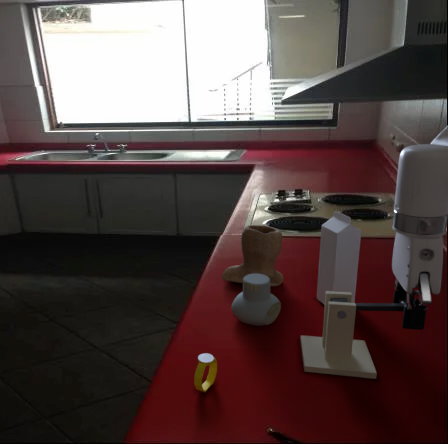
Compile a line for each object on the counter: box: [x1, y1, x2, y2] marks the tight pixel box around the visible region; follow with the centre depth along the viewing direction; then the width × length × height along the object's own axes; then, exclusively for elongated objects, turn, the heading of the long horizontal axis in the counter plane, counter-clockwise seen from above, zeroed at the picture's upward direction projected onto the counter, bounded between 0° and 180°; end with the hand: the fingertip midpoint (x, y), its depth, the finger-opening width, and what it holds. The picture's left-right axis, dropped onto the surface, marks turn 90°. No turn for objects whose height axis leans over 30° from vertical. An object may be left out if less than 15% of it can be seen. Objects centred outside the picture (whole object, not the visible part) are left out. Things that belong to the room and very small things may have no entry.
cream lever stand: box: [299, 291, 378, 380], centre depth 77 cm, size 12×10×13 cm
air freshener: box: [231, 274, 282, 327], centre depth 92 cm, size 11×8×10 cm
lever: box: [331, 297, 407, 312], centre depth 74 cm, size 13×5×2 cm, turn 77°
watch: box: [193, 352, 218, 393], centre depth 73 cm, size 6×3×6 cm, turn 146°
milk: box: [316, 210, 362, 306], centre depth 95 cm, size 6×6×22 cm
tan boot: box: [221, 224, 284, 287], centre depth 110 cm, size 15×12×15 cm
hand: (407, 318), depth 74 cm, fingers closed on lever, 5 cm apart
